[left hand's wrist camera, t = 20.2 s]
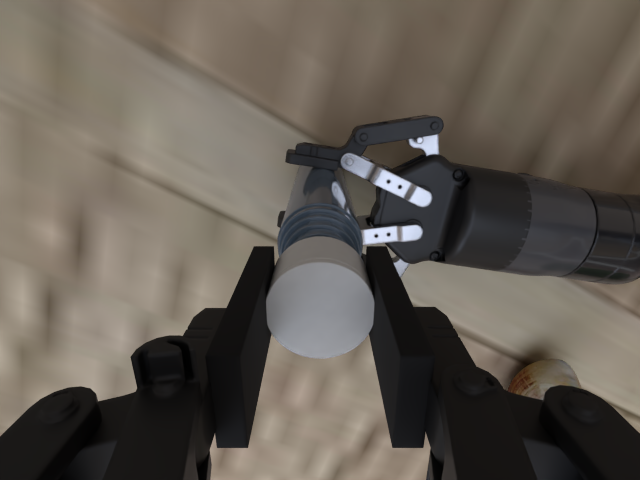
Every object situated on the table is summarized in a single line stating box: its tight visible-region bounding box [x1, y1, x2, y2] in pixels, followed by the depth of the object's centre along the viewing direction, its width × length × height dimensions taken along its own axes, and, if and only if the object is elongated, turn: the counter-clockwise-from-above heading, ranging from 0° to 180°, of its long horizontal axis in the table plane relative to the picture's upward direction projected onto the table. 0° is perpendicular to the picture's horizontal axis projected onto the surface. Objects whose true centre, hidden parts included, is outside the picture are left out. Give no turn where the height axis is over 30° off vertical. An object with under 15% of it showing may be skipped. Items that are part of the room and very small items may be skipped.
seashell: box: [508, 359, 581, 400], centre depth 38 cm, size 10×6×8 cm, turn 158°
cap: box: [266, 236, 374, 358], centre depth 13 cm, size 4×4×2 cm
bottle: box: [278, 165, 363, 257], centre depth 24 cm, size 4×4×23 cm
